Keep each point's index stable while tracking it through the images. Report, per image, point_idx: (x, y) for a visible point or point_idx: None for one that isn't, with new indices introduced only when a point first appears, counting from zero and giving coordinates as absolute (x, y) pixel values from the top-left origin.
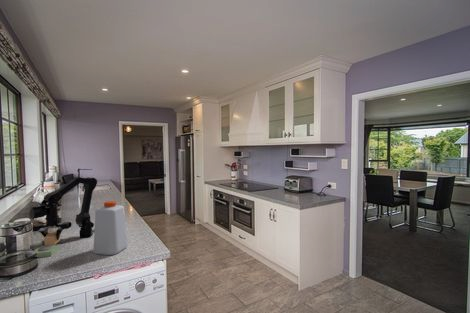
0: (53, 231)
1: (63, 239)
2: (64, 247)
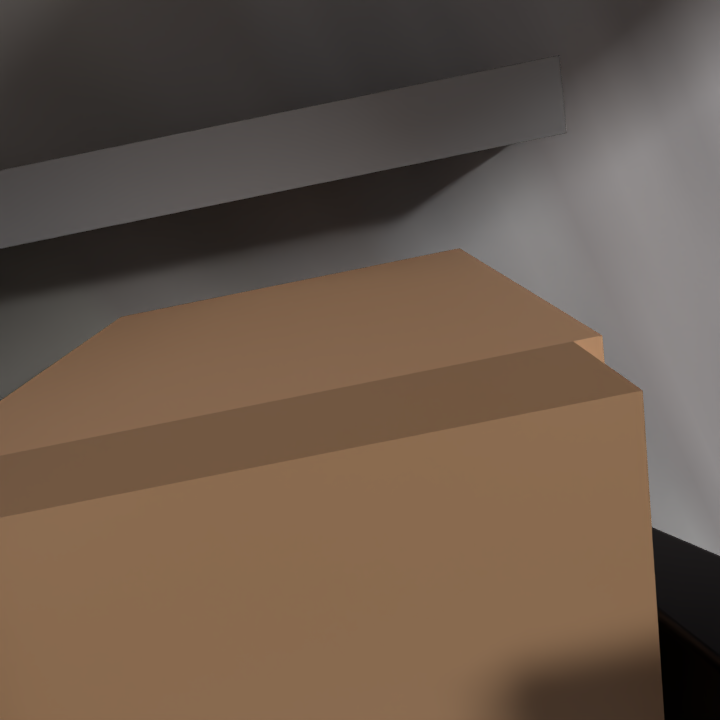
0: (195, 662)
1: (540, 135)
2: (693, 499)
